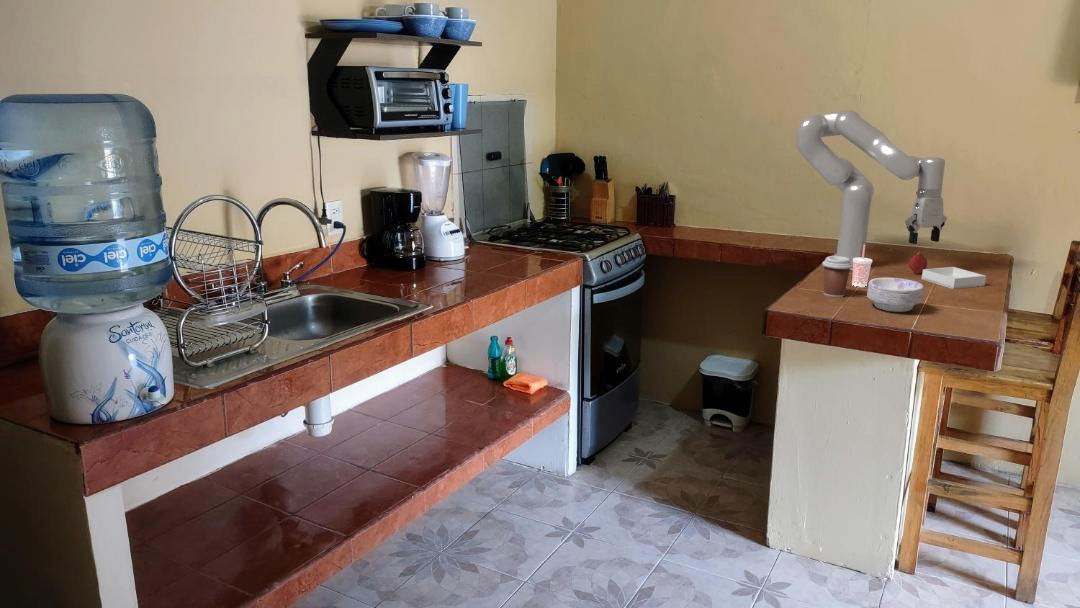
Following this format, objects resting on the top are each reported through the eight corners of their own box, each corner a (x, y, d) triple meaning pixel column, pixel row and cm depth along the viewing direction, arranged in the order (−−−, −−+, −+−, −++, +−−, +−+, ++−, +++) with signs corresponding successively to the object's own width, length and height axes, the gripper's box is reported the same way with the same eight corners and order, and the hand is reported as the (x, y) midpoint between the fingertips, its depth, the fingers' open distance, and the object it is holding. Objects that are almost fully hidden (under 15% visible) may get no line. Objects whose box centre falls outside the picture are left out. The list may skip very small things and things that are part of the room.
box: (953, 289, 256) (954, 278, 255) (921, 279, 268) (922, 269, 267) (984, 285, 260) (986, 275, 259) (952, 276, 273) (953, 266, 272)
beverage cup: (845, 284, 261) (850, 243, 257) (859, 282, 264) (864, 242, 260) (859, 288, 256) (864, 247, 252) (873, 286, 258) (878, 245, 254)
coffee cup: (845, 300, 242) (850, 262, 239) (815, 295, 247) (819, 259, 244) (851, 293, 250) (856, 257, 246) (822, 289, 254) (826, 253, 251)
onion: (924, 272, 277) (927, 251, 275) (926, 276, 272) (929, 254, 270) (906, 271, 279) (909, 249, 277) (908, 275, 274) (911, 253, 272)
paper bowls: (855, 306, 236) (858, 281, 234) (883, 298, 244) (887, 274, 242) (902, 318, 224) (906, 292, 222) (930, 310, 233) (934, 284, 230)
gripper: (917, 196, 262) (912, 246, 266) (957, 193, 267) (951, 242, 271) (901, 194, 268) (896, 242, 273) (940, 190, 274) (934, 238, 278)
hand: (923, 242), depth 272 cm, fingers open, 9 cm apart
